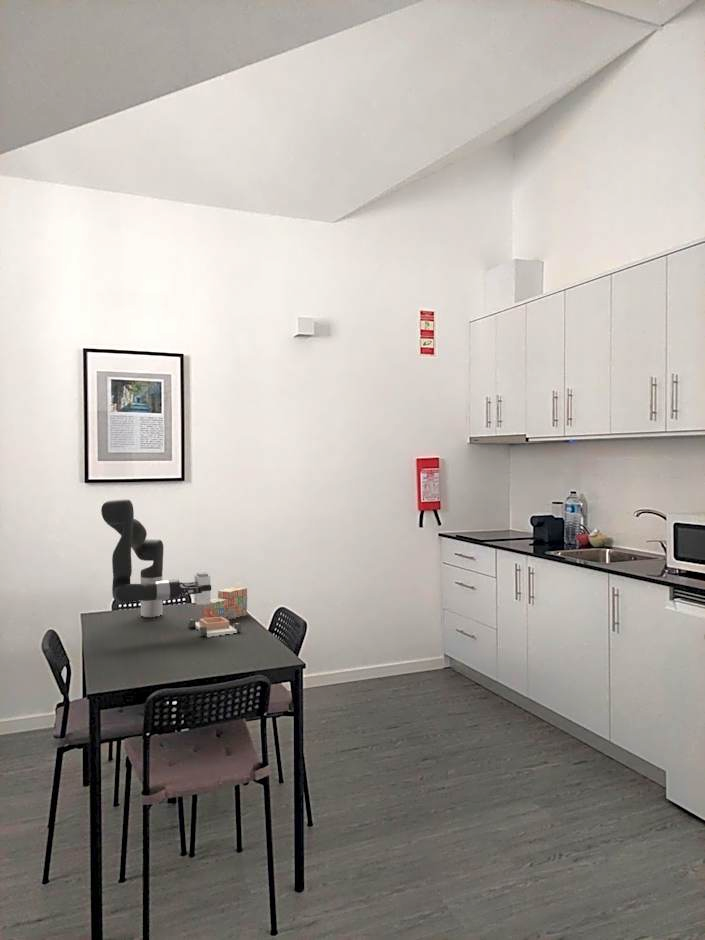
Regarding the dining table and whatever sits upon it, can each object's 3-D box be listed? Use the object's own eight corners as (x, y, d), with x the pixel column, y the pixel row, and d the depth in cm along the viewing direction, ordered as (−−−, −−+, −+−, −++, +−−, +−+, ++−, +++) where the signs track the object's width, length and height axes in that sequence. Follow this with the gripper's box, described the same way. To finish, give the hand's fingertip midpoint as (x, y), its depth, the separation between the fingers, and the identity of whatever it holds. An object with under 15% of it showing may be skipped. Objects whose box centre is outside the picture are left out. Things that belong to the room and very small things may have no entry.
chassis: (187, 626, 305) (187, 617, 305) (225, 622, 313) (225, 613, 313) (202, 637, 288) (202, 627, 288) (241, 633, 296) (241, 623, 295)
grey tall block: (194, 602, 299) (194, 572, 298) (206, 601, 301) (206, 572, 301) (198, 605, 294) (198, 574, 294) (210, 603, 297) (210, 573, 296)
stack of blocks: (214, 624, 310) (214, 595, 309) (202, 622, 313) (202, 593, 313) (247, 615, 328) (247, 587, 328) (236, 613, 331) (236, 586, 331)
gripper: (171, 583, 284) (214, 580, 292) (162, 577, 297) (203, 574, 305) (171, 603, 285) (214, 599, 293) (162, 596, 297) (203, 592, 305)
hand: (208, 586), depth 299 cm, fingers closed on grey tall block, 5 cm apart
